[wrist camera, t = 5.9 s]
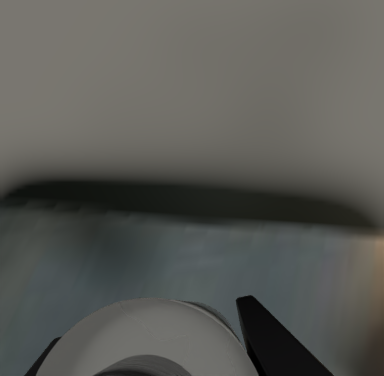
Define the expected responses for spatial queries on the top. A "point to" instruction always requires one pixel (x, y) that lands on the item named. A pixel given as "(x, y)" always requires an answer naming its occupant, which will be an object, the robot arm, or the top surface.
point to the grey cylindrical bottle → (150, 342)
